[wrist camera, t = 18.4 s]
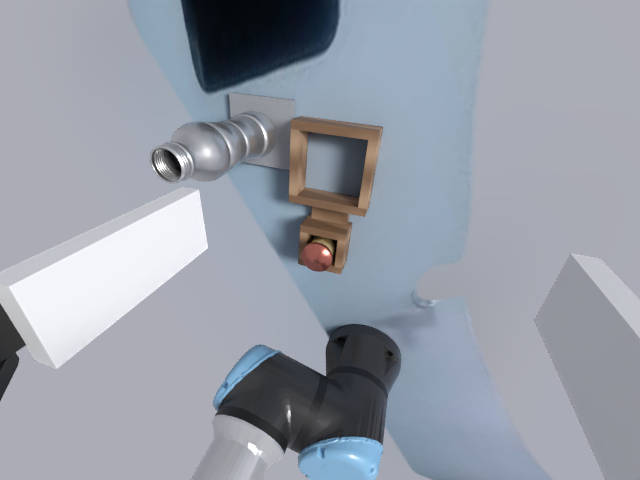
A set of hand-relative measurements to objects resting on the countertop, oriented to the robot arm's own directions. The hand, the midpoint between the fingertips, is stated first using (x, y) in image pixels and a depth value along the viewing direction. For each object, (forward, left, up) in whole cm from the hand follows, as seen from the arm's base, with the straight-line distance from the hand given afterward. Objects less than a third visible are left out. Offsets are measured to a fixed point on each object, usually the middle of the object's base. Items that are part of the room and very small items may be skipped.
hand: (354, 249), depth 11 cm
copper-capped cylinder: (-20, +9, -34) cm, 40 cm away
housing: (-12, +9, -35) cm, 38 cm away
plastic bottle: (-4, +21, -34) cm, 40 cm away
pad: (-4, +21, -35) cm, 40 cm away
